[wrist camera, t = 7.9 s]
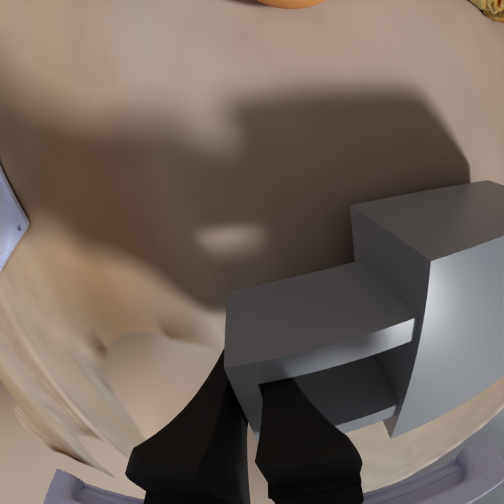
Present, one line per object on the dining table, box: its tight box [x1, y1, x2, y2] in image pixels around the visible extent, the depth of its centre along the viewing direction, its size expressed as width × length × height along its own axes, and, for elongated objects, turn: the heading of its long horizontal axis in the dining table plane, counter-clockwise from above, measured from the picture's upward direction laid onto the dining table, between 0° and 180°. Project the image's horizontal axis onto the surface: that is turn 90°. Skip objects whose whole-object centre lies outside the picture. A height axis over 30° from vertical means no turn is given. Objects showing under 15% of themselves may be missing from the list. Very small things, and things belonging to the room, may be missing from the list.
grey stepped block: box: [224, 180, 504, 442], centre depth 11 cm, size 16×10×6 cm, turn 103°
